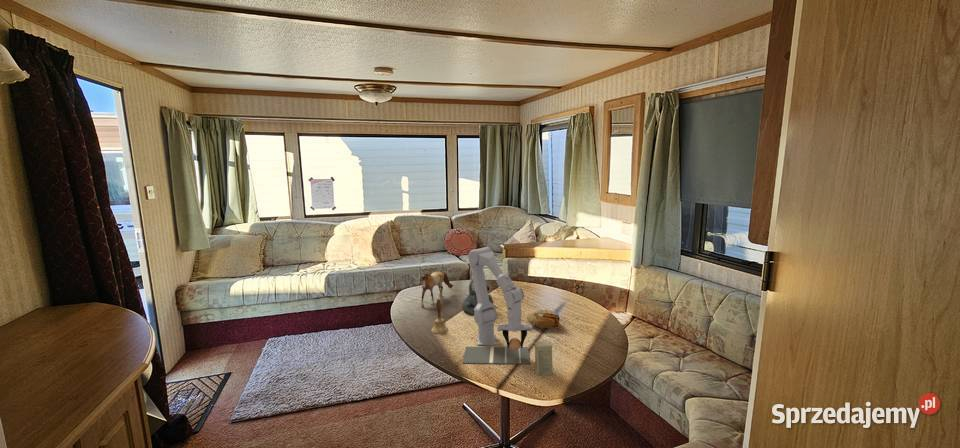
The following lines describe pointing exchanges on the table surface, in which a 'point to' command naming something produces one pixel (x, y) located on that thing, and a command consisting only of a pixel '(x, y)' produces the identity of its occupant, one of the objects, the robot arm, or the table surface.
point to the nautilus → (544, 319)
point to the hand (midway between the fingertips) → (515, 346)
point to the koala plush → (472, 299)
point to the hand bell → (439, 321)
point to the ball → (514, 344)
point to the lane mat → (496, 355)
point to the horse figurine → (434, 283)
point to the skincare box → (543, 358)
